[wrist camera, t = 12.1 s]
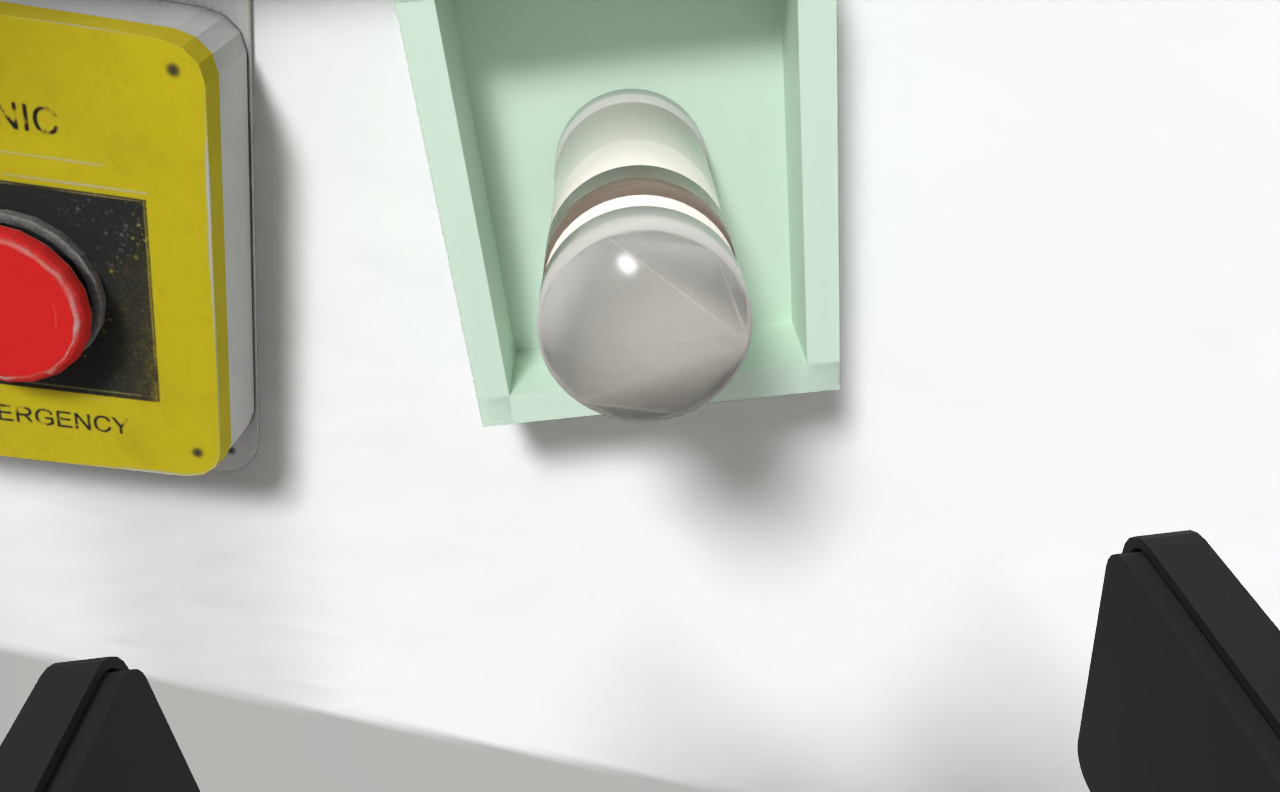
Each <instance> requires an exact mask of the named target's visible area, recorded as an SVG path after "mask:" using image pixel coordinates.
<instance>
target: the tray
mask: <svg viewBox="0 0 1280 792" xmlns="http://www.w3.org/2000/svg"><path fill="white" fill-rule="evenodd" d="M394 1H395V6H396V11H397V15H398V20H399V25H400V30H401V35H402V39H403V44H404V49H405V54H406V59H407V63H408V68H409V73H410V78H411V83H412V88H413V92H414V97H415V102H416V107H417V112H418V116H419V121H420V126H421V131H422V136H423V140H424V145H425V150H426V155H427V160H428V165H429V169H430V174H431V179H432V184H433V189H434V193H435V198H436V203H437V208H438V213H439V217H440V222H441V227H442V232H443V237H444V242H445V246H446V251H447V256H448V261H449V266H450V270H451V275H452V280H453V285H454V290H455V294H456V299H457V304H458V309H459V314H460V319H461V323H462V328H463V333H464V338H465V343H466V347H467V352H468V357H469V362H470V367H471V371H472V376H473V381H474V386H475V391H476V396H477V400H478V405H479V410H480V415H481V420H482V424H483V427H487V426H496V425H506V424H515V423H525V422H534V421H543V420H553V419H562V418H572V417H581V416H591V415H600V413H598V412H595V411H593V410H591V409H589V408H587V407H586V406H584V405H582V404H580V403H579V402H577V401H576V400H575V399H574V398H572V397H571V396H570V395H568V394H567V393H566V392H565V391H564V390H563V389H562V388H561V387H560V386H559V384H558V383H557V382H556V380H555V379H554V378H553V377H552V375H551V373H550V372H549V370H548V368H547V367H546V365H545V362H544V360H543V357H542V355H541V352H540V348H539V344H538V339H537V312H538V304H539V295H540V288H541V283H542V278H543V270H544V261H545V253H546V244H547V238H548V233H549V229H550V222H551V213H552V204H553V195H554V186H555V185H554V166H555V158H556V151H557V146H558V142H559V139H560V136H561V134H562V132H563V130H564V128H565V126H566V125H567V123H568V122H569V120H570V119H571V117H572V116H573V115H574V114H575V113H576V112H577V111H578V110H579V109H580V108H581V107H582V106H584V105H585V104H586V103H588V102H589V101H591V100H592V99H594V98H596V97H598V96H600V95H602V94H605V93H608V92H611V91H615V90H621V89H643V90H648V91H652V92H655V93H658V94H661V95H663V96H665V97H667V98H669V99H671V100H673V101H674V102H675V103H677V104H678V105H680V106H681V107H682V108H683V109H684V110H685V111H686V112H687V113H688V114H689V115H690V117H691V118H692V119H693V120H694V122H695V123H696V125H697V127H698V128H699V131H700V133H701V135H702V137H703V141H704V144H705V148H706V151H707V155H708V158H709V163H710V173H711V177H712V180H713V184H714V187H715V191H716V194H717V198H718V201H719V205H720V208H721V212H722V214H723V217H724V219H725V221H726V224H727V227H728V231H729V234H730V238H731V241H732V245H733V248H734V252H735V255H736V259H737V262H738V264H739V266H740V269H741V272H742V275H743V279H744V282H745V286H746V289H747V292H748V296H749V300H750V303H751V309H752V316H753V327H752V336H751V342H750V346H749V349H748V352H747V355H746V357H745V359H744V362H743V364H742V366H741V368H740V369H739V371H738V372H737V374H736V375H735V377H734V378H733V379H732V380H731V382H730V383H729V384H728V385H727V386H726V387H725V388H724V389H723V390H722V391H721V392H720V393H719V394H718V395H717V396H716V397H714V398H713V399H711V400H710V401H709V402H707V403H714V402H724V401H733V400H743V399H752V398H762V397H771V396H781V395H790V394H800V393H809V392H819V391H828V390H838V389H840V333H839V223H838V113H837V3H836V0H394Z"/></svg>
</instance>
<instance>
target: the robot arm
mask: <svg viewBox="0 0 1280 792" xmlns="http://www.w3.org/2000/svg"><path fill="white" fill-rule="evenodd" d="M1078 758H1079V762H1080V767H1081V770H1082V774H1083V777H1084V779H1085V781H1086V784H1087V786H1088V788H1089V790H1090V792H1280V631H1279V629H1278V628H1277V627H1276V626H1275V624H1274V623H1273V622H1272V621H1271V620H1270V618H1269V617H1268V616H1267V615H1266V613H1265V612H1264V611H1263V610H1262V609H1261V607H1260V606H1259V605H1258V604H1257V602H1256V601H1255V600H1254V599H1253V598H1252V596H1251V595H1250V594H1249V593H1248V591H1247V590H1246V589H1245V588H1244V587H1243V585H1242V584H1241V583H1240V582H1239V580H1238V579H1237V578H1236V577H1235V576H1234V574H1233V573H1232V572H1231V571H1230V569H1229V568H1228V567H1227V566H1226V565H1225V563H1224V562H1223V561H1222V560H1221V558H1220V557H1219V556H1218V555H1217V554H1216V552H1215V551H1214V550H1213V549H1212V547H1211V546H1210V545H1209V544H1208V543H1207V541H1206V540H1205V539H1204V538H1203V537H1202V536H1201V535H1199V534H1198V533H1197V532H1194V531H1191V530H1187V531H1179V532H1170V533H1162V534H1153V535H1145V536H1136V537H1132V538H1129V539H1128V541H1127V542H1126V543H1125V545H1124V548H1123V552H1122V554H1115V555H1111V556H1110V558H1109V559H1108V562H1107V565H1106V571H1105V577H1104V583H1103V590H1102V596H1101V602H1100V608H1099V614H1098V621H1097V627H1096V633H1095V639H1094V645H1093V652H1092V658H1091V664H1090V670H1089V676H1088V683H1087V689H1086V695H1085V701H1084V707H1083V714H1082V720H1081V726H1080V732H1079V738H1078ZM0 792H200V790H199V788H198V786H197V784H196V782H195V780H194V778H193V775H192V773H191V771H190V769H189V767H188V765H187V763H186V761H185V759H184V756H183V754H182V752H181V750H180V748H179V746H178V744H177V742H176V740H175V737H174V735H173V733H172V731H171V729H170V727H169V725H168V723H167V721H166V718H165V716H164V714H163V712H162V710H161V708H160V706H159V704H158V702H157V699H156V697H155V695H154V693H153V691H152V689H151V687H150V685H149V683H148V680H147V678H146V677H145V675H144V674H143V672H141V671H140V670H138V669H132V670H129V669H128V667H127V666H126V664H125V663H124V661H123V660H121V659H120V658H118V657H103V658H95V659H86V660H78V661H69V662H61V663H54V664H53V665H51V666H49V667H48V668H47V669H46V670H45V671H44V672H43V674H42V675H41V676H40V678H39V680H38V682H37V683H36V685H35V687H34V689H33V691H32V692H31V694H30V696H29V697H28V699H27V701H26V702H25V704H24V706H23V708H22V709H21V711H20V713H19V715H18V716H17V718H16V720H15V722H14V724H13V725H12V727H11V729H10V730H9V732H8V734H7V735H6V737H5V739H4V741H3V742H2V744H1V746H0Z"/></svg>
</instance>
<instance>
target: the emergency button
mask: <svg viewBox="0 0 1280 792" xmlns="http://www.w3.org/2000/svg"><path fill="white" fill-rule="evenodd" d="M258 442H259V419H258V365H257V311H256V257H255V204H254V150H253V96H252V42H251V0H0V456H6V457H15V458H24V459H33V460H42V461H51V462H60V463H69V464H78V465H87V466H96V467H105V468H115V469H124V470H133V471H142V472H151V473H160V474H169V475H178V476H195V475H204V474H205V473H207V472H208V471H218V472H229V471H236V470H241V469H242V468H244V467H245V466H246V465H247V464H248V463H249V462H251V461H252V460H253V459H254V457H255V454H256V450H257V446H258Z"/></svg>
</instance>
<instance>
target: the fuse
mask: <svg viewBox="0 0 1280 792" xmlns="http://www.w3.org/2000/svg"><path fill="white" fill-rule="evenodd" d="M554 185H555V186H554V195H553V204H552V213H551V222H550V229H549V233H548V238H547V244H546V253H545V261H544V270H543V278H542V283H541V288H540V295H539V304H538V312H537V339H538V344H539V348H540V352H541V355H542V357H543V360H544V362H545V365H546V367H547V368H548V370H549V372H550V373H551V375H552V377H553V378H554V379H555V380H556V382H557V383H558V384H559V386H560V387H561V388H562V389H563V390H564V391H565V392H566V393H567V394H568V395H570V396H571V397H572V398H574V399H575V400H576V401H577V402H579V403H580V404H582V405H584V406H586V407H587V408H589V409H591V410H593V411H595V412H598V413H600V414H602V415H606V416H609V417H612V418H616V419H622V420H627V421H641V422H643V421H658V420H664V419H669V418H673V417H676V416H680V415H683V414H685V413H688V412H690V411H693V410H695V409H697V408H699V407H700V406H702V405H704V404H706V403H707V402H709V401H710V400H711V399H713V398H714V397H716V396H717V395H718V394H719V393H720V392H721V391H722V390H723V389H724V388H725V387H726V386H727V385H728V384H729V383H730V382H731V380H732V379H733V378H734V377H735V375H736V374H737V372H738V371H739V369H740V368H741V366H742V364H743V362H744V359H745V357H746V355H747V352H748V349H749V346H750V342H751V336H752V327H753V316H752V309H751V303H750V300H749V296H748V292H747V289H746V286H745V282H744V279H743V275H742V272H741V269H740V266H739V264H738V262H737V259H736V255H735V252H734V248H733V245H732V241H731V238H730V234H729V231H728V227H727V224H726V221H725V219H724V217H723V214H722V212H721V208H720V205H719V201H718V198H717V194H716V191H715V187H714V184H713V180H712V177H711V173H710V163H709V158H708V155H707V151H706V148H705V144H704V141H703V137H702V135H701V133H700V131H699V128H698V127H697V125H696V123H695V122H694V120H693V119H692V118H691V117H690V115H689V114H688V113H687V112H686V111H685V110H684V109H683V108H682V107H681V106H680V105H678V104H677V103H675V102H674V101H673V100H671V99H669V98H667V97H665V96H663V95H661V94H658V93H655V92H652V91H648V90H643V89H621V90H615V91H611V92H608V93H605V94H602V95H600V96H598V97H596V98H594V99H592V100H591V101H589V102H588V103H586V104H585V105H584V106H582V107H581V108H580V109H579V110H578V111H577V112H576V113H575V114H574V115H573V116H572V117H571V119H570V120H569V122H568V123H567V125H566V126H565V128H564V130H563V132H562V134H561V136H560V139H559V142H558V146H557V151H556V158H555V166H554Z"/></svg>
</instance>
